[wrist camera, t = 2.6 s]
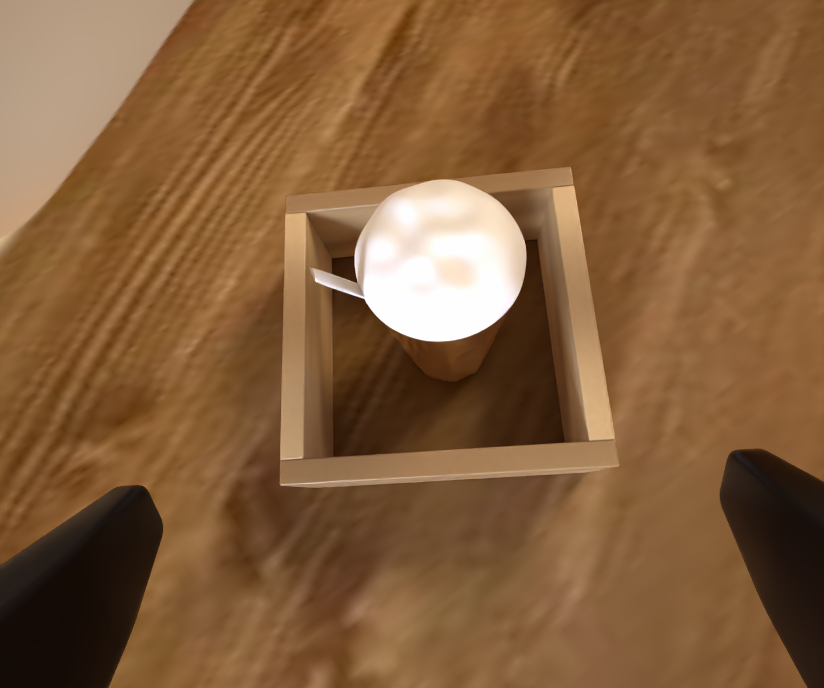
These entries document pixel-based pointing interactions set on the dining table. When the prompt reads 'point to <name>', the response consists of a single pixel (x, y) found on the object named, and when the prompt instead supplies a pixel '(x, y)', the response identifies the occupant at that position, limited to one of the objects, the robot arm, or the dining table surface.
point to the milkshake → (438, 273)
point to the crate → (313, 341)
